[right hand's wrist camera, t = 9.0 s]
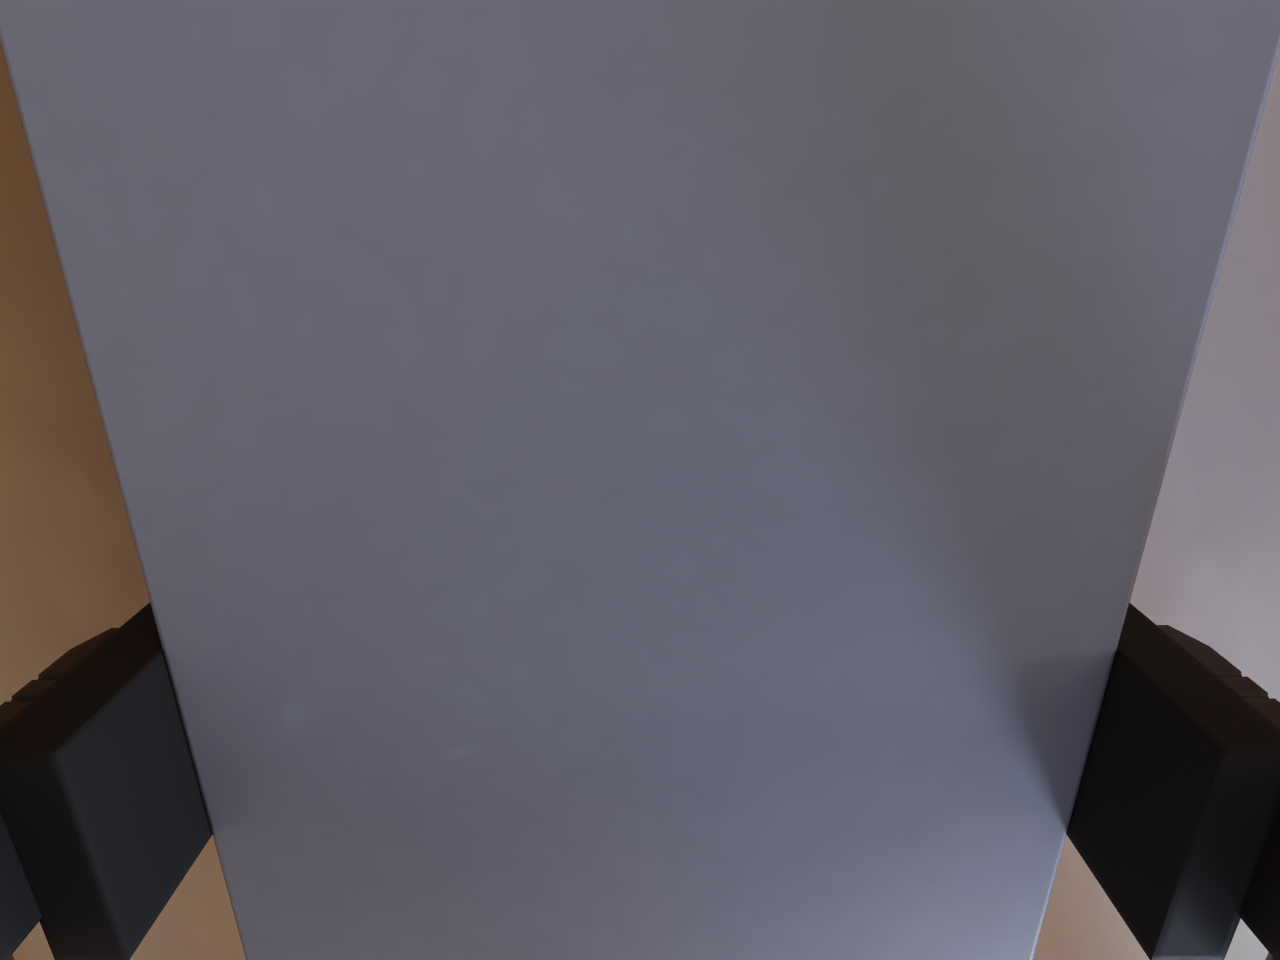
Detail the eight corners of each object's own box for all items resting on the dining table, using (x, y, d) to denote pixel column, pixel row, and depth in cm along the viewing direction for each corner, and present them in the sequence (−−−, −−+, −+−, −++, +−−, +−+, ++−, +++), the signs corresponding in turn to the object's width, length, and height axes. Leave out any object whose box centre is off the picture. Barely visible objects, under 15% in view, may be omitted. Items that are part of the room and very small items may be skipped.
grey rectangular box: (314, -408, 12) (-566, -2030, 3) (967, -407, 12) (1851, -2020, 3) (433, 629, 19) (254, 1005, 10) (846, 630, 19) (1022, 1008, 10)
